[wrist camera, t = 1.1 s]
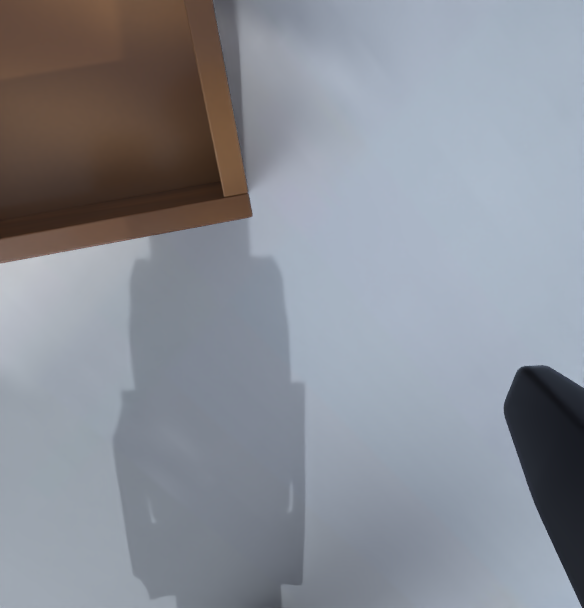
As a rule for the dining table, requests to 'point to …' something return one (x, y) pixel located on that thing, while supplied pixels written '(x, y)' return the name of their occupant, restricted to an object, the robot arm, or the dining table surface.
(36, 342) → the dining table surface
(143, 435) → the dining table surface
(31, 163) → the crate
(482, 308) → the dining table surface
